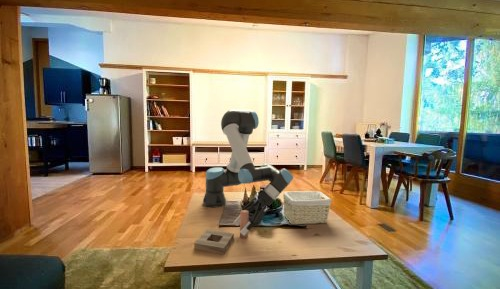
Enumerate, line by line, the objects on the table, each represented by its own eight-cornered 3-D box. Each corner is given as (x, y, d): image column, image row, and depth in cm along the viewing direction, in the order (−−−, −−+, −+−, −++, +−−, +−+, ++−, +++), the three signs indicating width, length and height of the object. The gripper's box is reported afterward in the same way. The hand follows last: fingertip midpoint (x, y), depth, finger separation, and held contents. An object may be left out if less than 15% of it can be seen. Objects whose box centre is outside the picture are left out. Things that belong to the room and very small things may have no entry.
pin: (241, 234, 132) (241, 209, 130) (248, 235, 131) (249, 210, 130) (238, 237, 128) (239, 212, 127) (246, 239, 127) (247, 213, 126)
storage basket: (318, 213, 163) (319, 190, 161) (330, 224, 147) (332, 199, 145) (281, 214, 158) (282, 191, 156) (290, 226, 143) (291, 200, 141)
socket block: (207, 235, 130) (207, 229, 130) (233, 239, 127) (233, 233, 127) (194, 249, 117) (194, 243, 116) (223, 254, 114) (223, 248, 113)
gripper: (283, 207, 122) (251, 244, 119) (264, 192, 143) (236, 223, 140) (274, 197, 120) (240, 235, 116) (255, 184, 141) (227, 215, 137)
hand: (238, 228), depth 128 cm, fingers open, 10 cm apart
